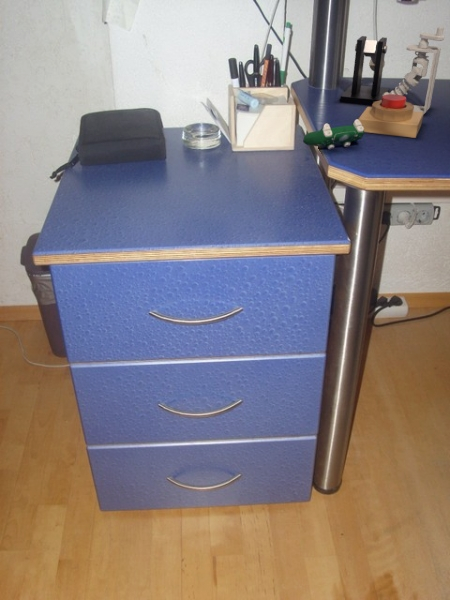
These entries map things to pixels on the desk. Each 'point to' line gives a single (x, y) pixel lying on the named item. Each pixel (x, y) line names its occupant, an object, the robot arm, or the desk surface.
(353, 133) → the green toy race car
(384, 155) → the desk surface
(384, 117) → the button block
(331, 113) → the desk surface
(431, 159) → the desk surface
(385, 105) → the button
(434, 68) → the clamp
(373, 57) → the lever
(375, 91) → the bracket
